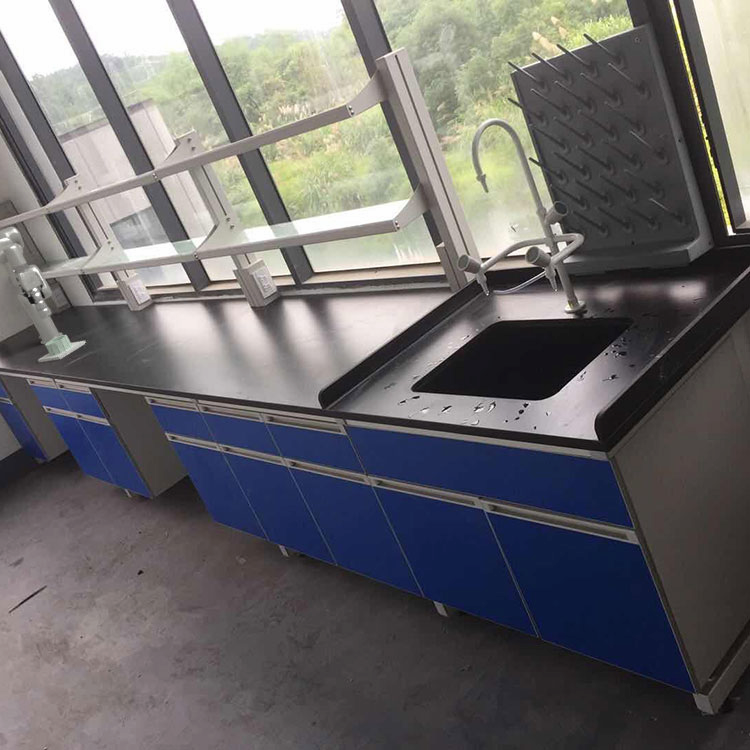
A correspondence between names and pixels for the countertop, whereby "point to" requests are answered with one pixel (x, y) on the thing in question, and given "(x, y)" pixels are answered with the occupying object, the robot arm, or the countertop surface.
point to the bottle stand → (60, 348)
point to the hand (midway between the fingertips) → (38, 300)
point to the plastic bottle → (40, 304)
